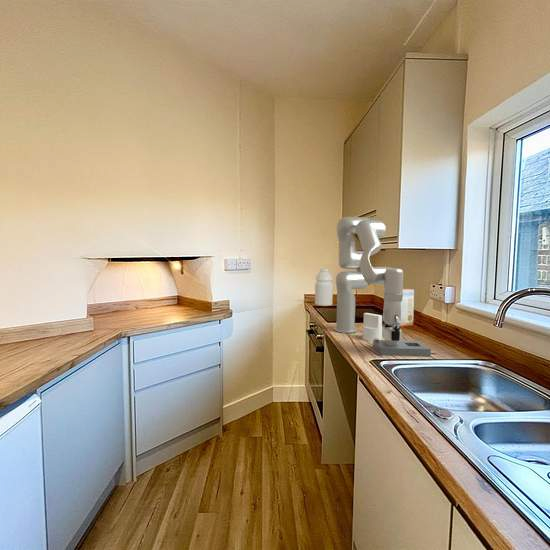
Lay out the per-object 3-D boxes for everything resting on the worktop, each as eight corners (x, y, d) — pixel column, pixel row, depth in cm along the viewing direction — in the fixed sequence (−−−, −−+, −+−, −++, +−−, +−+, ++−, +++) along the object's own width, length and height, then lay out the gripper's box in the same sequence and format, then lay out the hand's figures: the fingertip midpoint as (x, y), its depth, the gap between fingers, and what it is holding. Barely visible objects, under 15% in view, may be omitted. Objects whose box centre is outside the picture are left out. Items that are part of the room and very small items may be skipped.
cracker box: (405, 323, 200) (406, 288, 198) (413, 325, 194) (415, 289, 192) (387, 325, 193) (388, 289, 192) (395, 327, 188) (396, 290, 186)
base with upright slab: (358, 338, 165) (359, 314, 164) (370, 335, 171) (370, 312, 170) (374, 342, 158) (374, 317, 157) (385, 339, 164) (386, 315, 163)
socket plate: (372, 346, 152) (373, 338, 151) (417, 347, 151) (418, 338, 151) (381, 355, 139) (381, 346, 138) (430, 356, 138) (431, 347, 138)
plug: (381, 341, 148) (382, 327, 147) (396, 342, 148) (396, 327, 147) (386, 346, 142) (386, 330, 141) (401, 346, 141) (402, 331, 141)
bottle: (312, 303, 270) (312, 268, 268) (328, 302, 273) (329, 268, 271) (318, 306, 256) (319, 269, 254) (335, 305, 260) (336, 269, 258)
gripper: (378, 294, 152) (377, 332, 153) (390, 300, 135) (389, 342, 136) (395, 294, 152) (393, 332, 153) (409, 300, 134) (408, 343, 136)
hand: (391, 337), depth 144 cm, fingers open, 9 cm apart
